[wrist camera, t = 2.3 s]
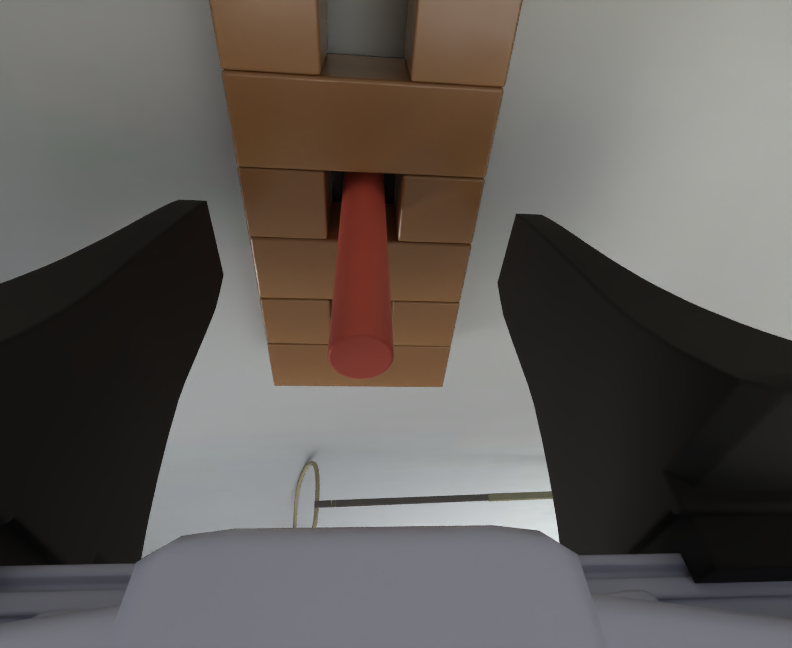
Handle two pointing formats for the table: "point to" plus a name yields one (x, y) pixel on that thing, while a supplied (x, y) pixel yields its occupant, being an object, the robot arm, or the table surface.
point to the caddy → (362, 166)
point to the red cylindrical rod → (361, 282)
